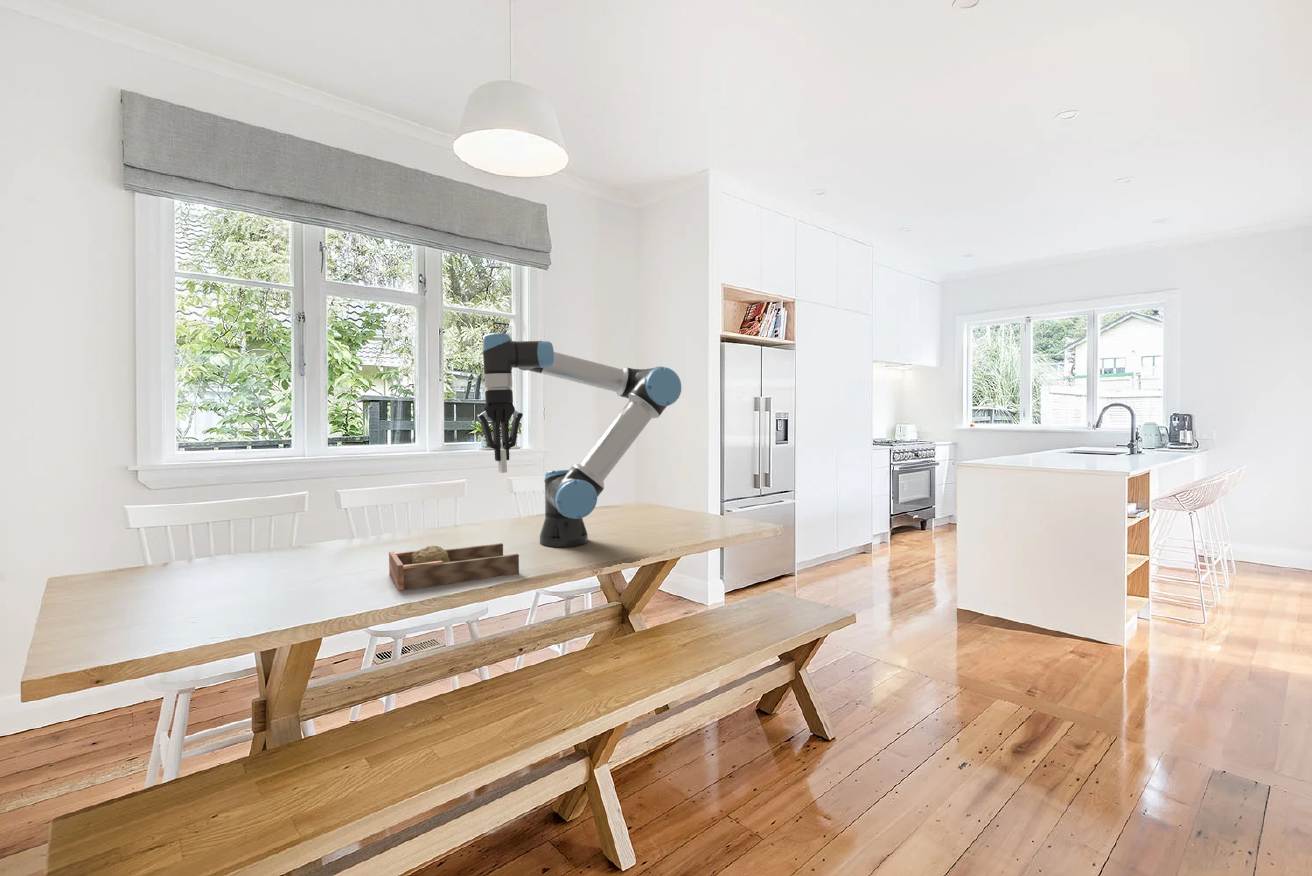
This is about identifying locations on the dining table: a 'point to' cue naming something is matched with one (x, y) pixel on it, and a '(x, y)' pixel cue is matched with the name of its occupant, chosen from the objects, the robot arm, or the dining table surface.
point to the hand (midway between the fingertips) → (502, 472)
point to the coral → (430, 555)
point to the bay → (452, 567)
